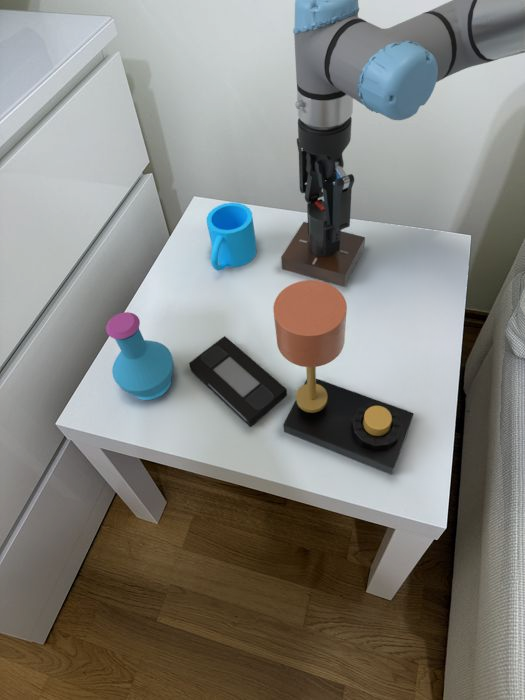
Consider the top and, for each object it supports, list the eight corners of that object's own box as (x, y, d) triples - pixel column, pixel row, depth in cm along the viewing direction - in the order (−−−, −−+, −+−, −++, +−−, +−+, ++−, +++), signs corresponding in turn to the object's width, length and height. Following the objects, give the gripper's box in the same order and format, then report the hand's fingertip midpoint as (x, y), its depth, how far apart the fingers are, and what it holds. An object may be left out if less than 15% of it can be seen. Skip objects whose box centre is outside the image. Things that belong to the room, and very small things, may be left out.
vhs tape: (250, 427, 75) (248, 421, 74) (190, 370, 82) (188, 363, 81) (287, 395, 78) (286, 388, 76) (226, 343, 85) (224, 335, 83)
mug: (225, 233, 101) (218, 199, 94) (263, 242, 98) (259, 207, 92) (197, 276, 94) (188, 242, 88) (237, 286, 92) (231, 252, 85)
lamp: (348, 386, 73) (357, 291, 57) (327, 432, 69) (330, 345, 53) (297, 368, 76) (291, 272, 60) (274, 412, 72) (261, 322, 56)
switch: (393, 418, 70) (395, 410, 69) (385, 440, 68) (386, 433, 67) (368, 409, 71) (369, 401, 70) (359, 430, 70) (360, 423, 68)
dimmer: (342, 250, 91) (344, 212, 84) (318, 260, 90) (318, 223, 83) (328, 233, 93) (329, 195, 87) (304, 243, 93) (303, 206, 86)
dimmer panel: (364, 249, 95) (365, 236, 92) (344, 287, 90) (345, 274, 87) (303, 233, 98) (303, 220, 96) (281, 269, 94) (280, 256, 91)
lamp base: (411, 420, 74) (415, 406, 71) (391, 475, 69) (395, 463, 66) (308, 383, 79) (308, 368, 76) (283, 431, 74) (282, 418, 71)
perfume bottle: (131, 356, 85) (100, 295, 73) (185, 359, 84) (162, 298, 71) (114, 404, 80) (77, 347, 68) (171, 409, 78) (144, 352, 66)
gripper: (272, 96, 76) (281, 219, 95) (333, 157, 66) (330, 282, 85) (317, 81, 78) (317, 206, 96) (383, 139, 67) (369, 266, 86)
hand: (323, 241), depth 91 cm, fingers closed on dimmer, 5 cm apart
